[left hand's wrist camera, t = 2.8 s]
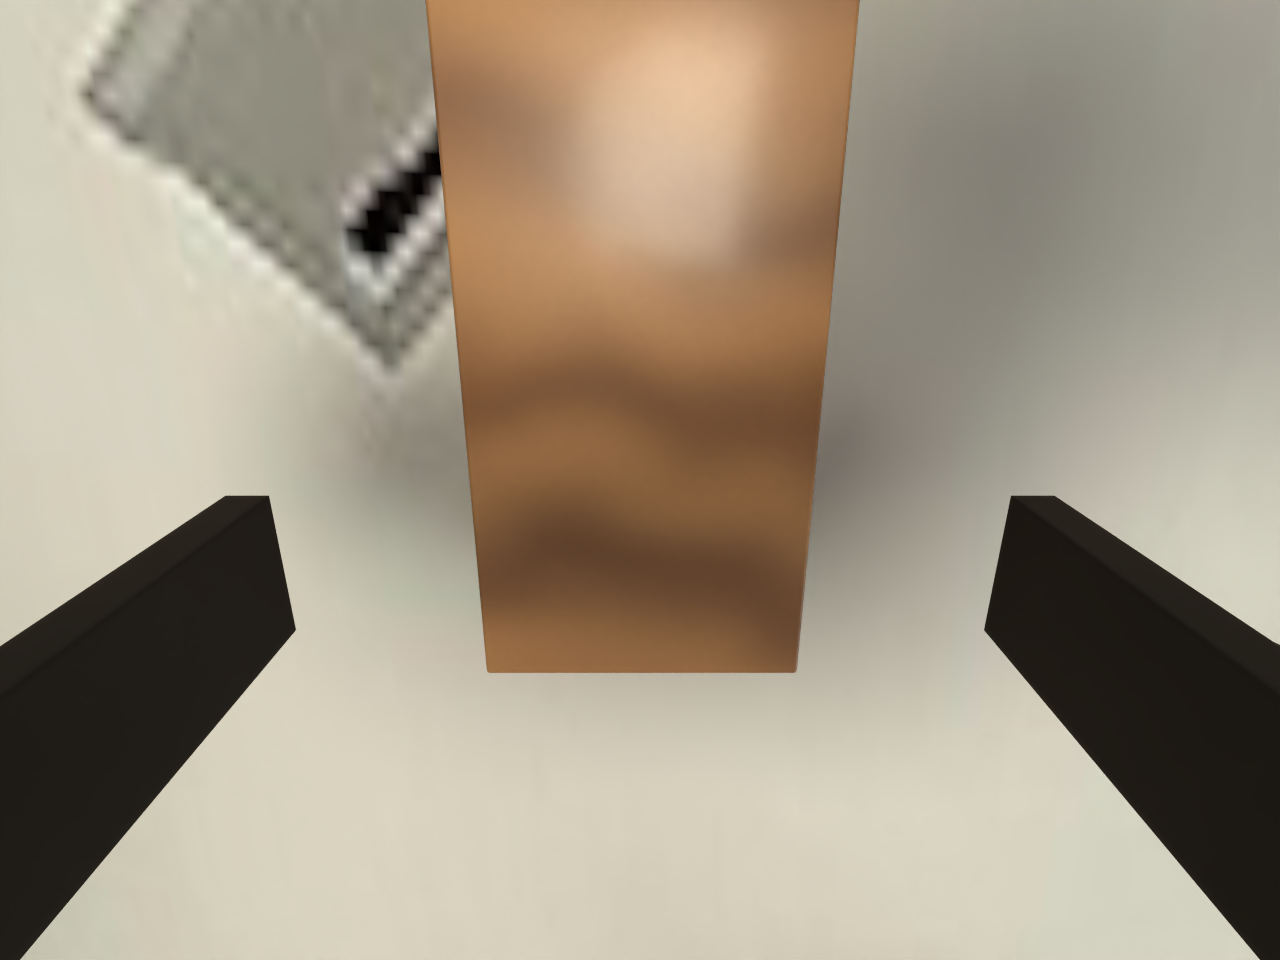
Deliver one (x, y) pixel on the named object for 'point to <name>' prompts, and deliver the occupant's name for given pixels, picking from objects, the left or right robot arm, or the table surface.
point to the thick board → (642, 317)
